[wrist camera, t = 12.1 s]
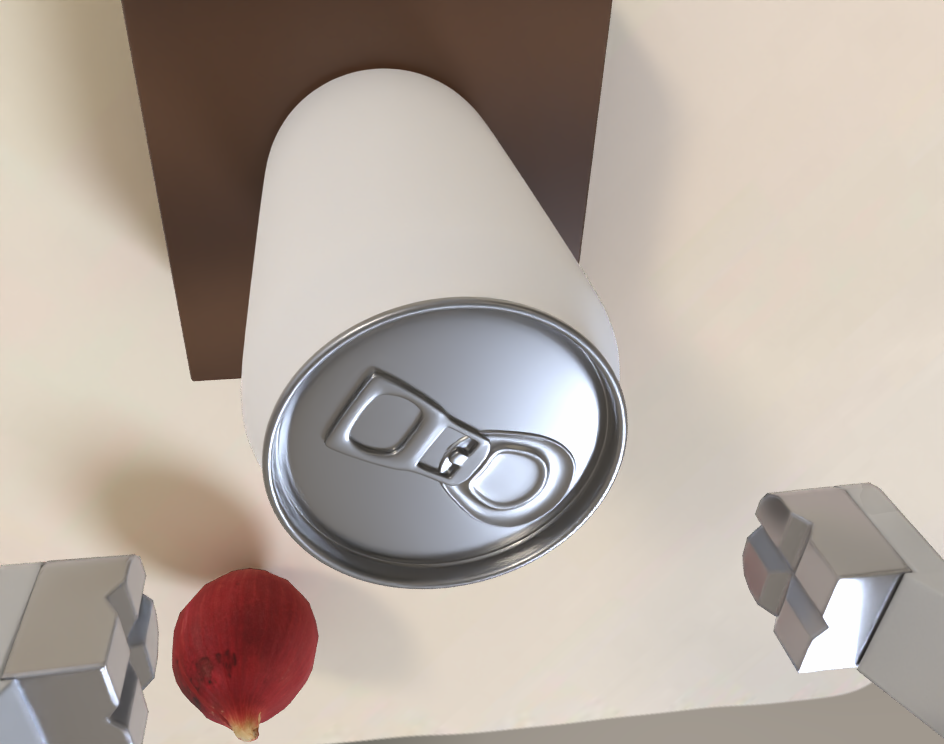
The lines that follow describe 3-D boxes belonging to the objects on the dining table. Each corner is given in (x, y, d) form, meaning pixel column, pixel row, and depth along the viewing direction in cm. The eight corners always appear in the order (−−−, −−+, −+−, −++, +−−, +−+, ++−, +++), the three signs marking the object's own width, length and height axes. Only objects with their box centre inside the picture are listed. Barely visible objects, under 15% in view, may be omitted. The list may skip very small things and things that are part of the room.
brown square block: (145, -80, 22) (108, -63, 18) (564, -66, 24) (619, -48, 20) (207, 305, 28) (191, 382, 24) (532, 290, 30) (568, 359, 26)
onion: (180, 618, 37) (154, 786, 30) (186, 527, 34) (158, 691, 27) (308, 619, 38) (309, 779, 32) (324, 532, 35) (328, 689, 29)
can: (418, 324, 24) (495, 645, 15) (222, 221, 22) (153, 536, 12) (545, 149, 22) (738, 393, 12) (343, 9, 19) (384, 179, 9)
